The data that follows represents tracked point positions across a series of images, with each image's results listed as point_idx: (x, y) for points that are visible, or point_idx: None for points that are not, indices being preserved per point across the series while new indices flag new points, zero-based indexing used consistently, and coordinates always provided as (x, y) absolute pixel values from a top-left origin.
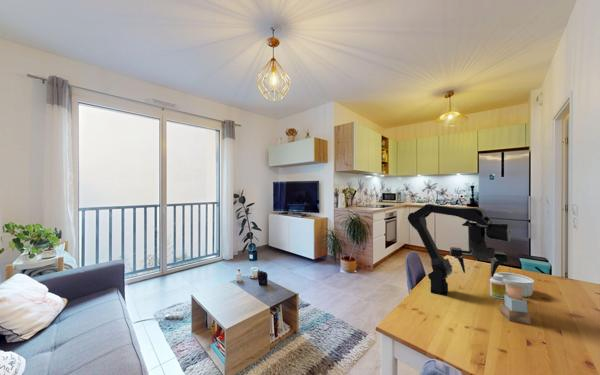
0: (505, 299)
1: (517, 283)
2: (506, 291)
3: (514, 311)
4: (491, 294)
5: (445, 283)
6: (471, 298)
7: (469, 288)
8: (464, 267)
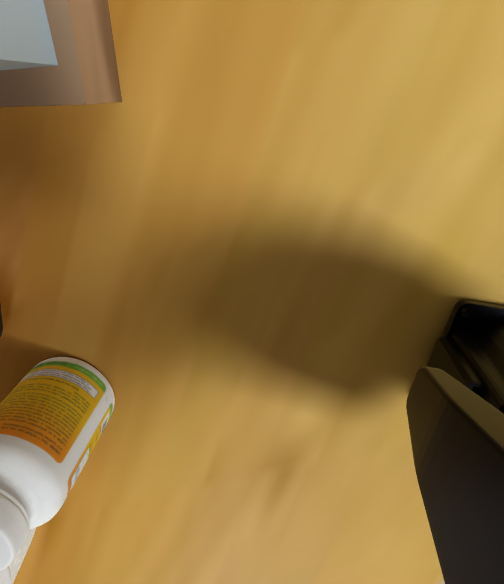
0: (12, 34)
1: None
2: None
3: None
4: (106, 393)
5: (497, 384)
6: (266, 309)
7: (222, 471)
8: (485, 438)
